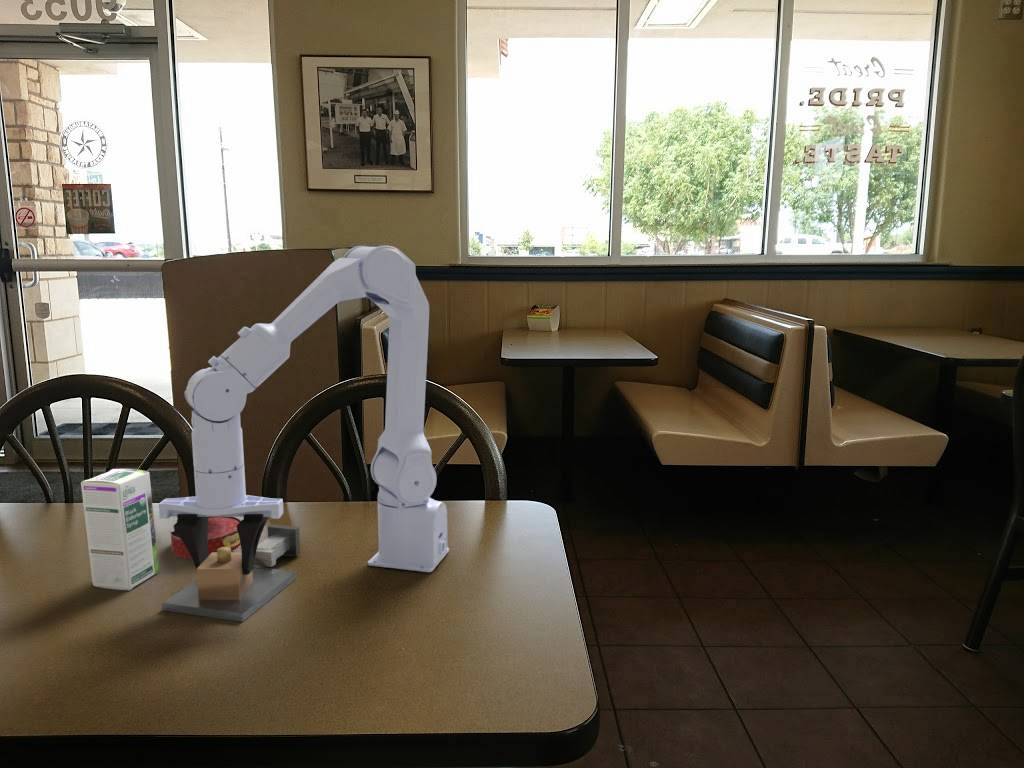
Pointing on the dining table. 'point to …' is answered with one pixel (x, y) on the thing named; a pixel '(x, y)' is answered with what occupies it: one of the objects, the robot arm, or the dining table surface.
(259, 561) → the square end dumbbell
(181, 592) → the grey square baseplate
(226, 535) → the canned food
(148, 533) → the syrup box
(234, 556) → the block
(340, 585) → the dining table surface
